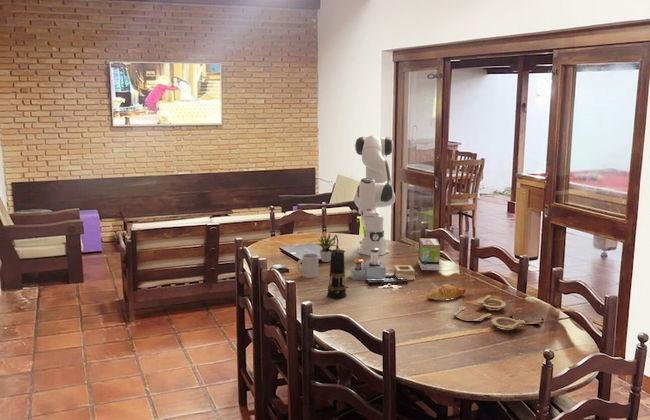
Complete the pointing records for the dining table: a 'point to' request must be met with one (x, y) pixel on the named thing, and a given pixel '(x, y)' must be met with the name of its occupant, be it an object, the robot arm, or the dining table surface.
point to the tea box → (429, 254)
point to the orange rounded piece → (358, 263)
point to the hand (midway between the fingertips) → (366, 235)
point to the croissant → (445, 292)
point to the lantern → (337, 274)
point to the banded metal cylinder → (374, 256)
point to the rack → (404, 272)
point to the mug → (309, 266)
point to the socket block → (374, 270)
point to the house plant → (325, 248)
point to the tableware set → (494, 320)
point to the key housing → (358, 274)
